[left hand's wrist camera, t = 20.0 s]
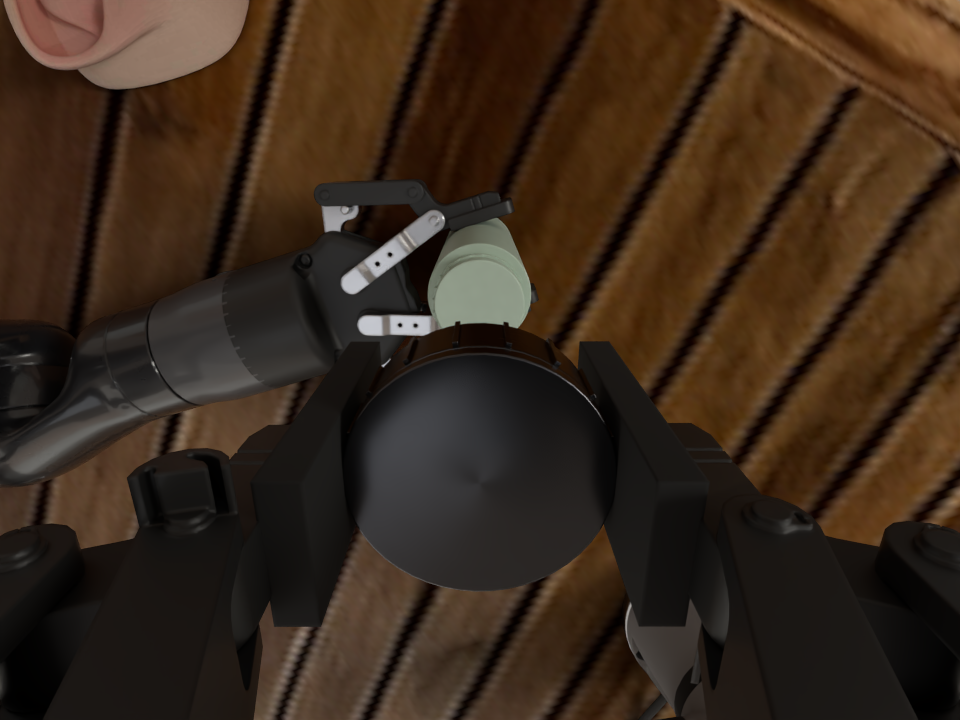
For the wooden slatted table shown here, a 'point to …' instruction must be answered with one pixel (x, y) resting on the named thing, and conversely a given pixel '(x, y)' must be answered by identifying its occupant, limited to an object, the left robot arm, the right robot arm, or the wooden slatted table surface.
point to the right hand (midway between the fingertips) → (522, 248)
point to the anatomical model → (127, 36)
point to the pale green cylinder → (479, 278)
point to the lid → (479, 459)
